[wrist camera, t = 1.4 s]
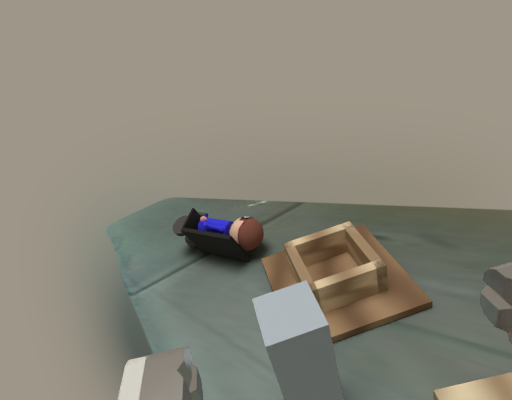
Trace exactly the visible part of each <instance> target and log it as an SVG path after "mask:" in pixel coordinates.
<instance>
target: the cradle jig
mask: <svg viewBox="0 0 512 400" xmlns="http://www.w3.org/2000/svg"><path fill="white" fill-rule="evenodd" d="M284 248H285V251H283V252H280V253H277V254H274V255H271V256H268V257H265V258H262V263H263V266H264V268H265V271H266V274H267V277H268V279H269V282H270V285H271V288H272V290H273V292H274V291H277V290H279V289H282V288H285V287H288V286H291V285H294V284H297V283H300V282H303V281H306V280H307V282H308V284H309V286H310V288H311V290H312V292H313V294H314V296H315V298H316V300H317V302H318V304H319V306H320V308H321V310H322V312H323V314H324V316H325V318H326V320H327V322H328V324H329V329H330V334H331V338H332V343H334V342H337V341H340V340H342V339H345V338H348V337H351V336H353V335H356V334H359V333H362V332H365V331H367V330H370V329H373V328H376V327H379V326H381V325H384V324H387V323H390V322H392V321H395V320H398V319H401V318H404V317H406V316H409V315H412V314H415V313H418V312H420V311H423V310H426V309H429V308H431V307H432V300H431V299H430V298H429V297H428V296H427V295H426V294H425V293H424V292H423V290H422V289H421V288H420V287H419V286H418V285H417V284H416V283H415V282H414V281H413V279H412V278H411V277H410V276H409V275H408V274H407V273H406V272H405V271H404V269H403V268H402V267H401V266H400V265H399V264H398V263H397V262H396V261H395V260H394V258H393V257H392V256H391V255H390V254H389V253H388V252H387V251H386V250H385V248H384V247H383V246H382V245H381V244H380V243H379V242H378V241H377V240H376V239H375V237H374V236H373V235H372V234H371V233H370V232H369V231H368V230H367V229H366V227H365V226H364V225H360V226H357V227H354V226H353V225H352V224H351V223H350V222H346V223H343V224H340V225H337V226H334V227H331V228H328V229H325V230H322V231H319V232H316V233H313V234H310V235H307V236H304V237H301V238H298V239H295V240H293V241H290V242H287V243H284Z"/></svg>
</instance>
